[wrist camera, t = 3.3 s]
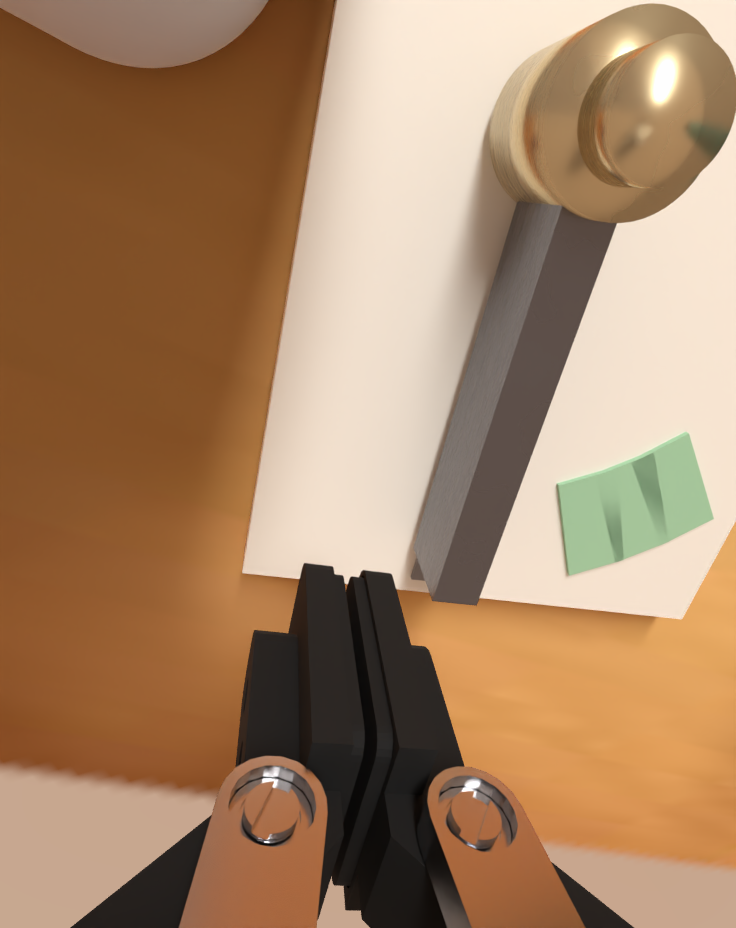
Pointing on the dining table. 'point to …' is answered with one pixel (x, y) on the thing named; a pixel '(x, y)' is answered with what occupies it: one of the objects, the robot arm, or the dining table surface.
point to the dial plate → (458, 320)
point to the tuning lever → (564, 245)
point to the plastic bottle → (141, 27)
